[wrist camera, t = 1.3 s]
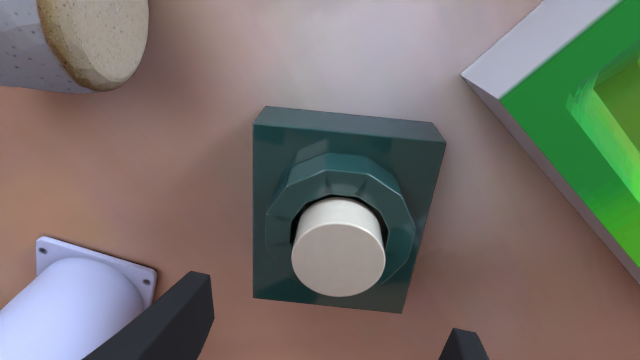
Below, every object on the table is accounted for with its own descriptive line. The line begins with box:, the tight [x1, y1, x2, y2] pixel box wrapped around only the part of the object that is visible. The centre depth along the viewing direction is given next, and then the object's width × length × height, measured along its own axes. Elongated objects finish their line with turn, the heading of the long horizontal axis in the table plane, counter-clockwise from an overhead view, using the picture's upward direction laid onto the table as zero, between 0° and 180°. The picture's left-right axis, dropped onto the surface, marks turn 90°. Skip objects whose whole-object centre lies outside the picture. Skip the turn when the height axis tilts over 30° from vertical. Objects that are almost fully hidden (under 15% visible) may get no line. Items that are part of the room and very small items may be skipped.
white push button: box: [291, 197, 385, 297], centre depth 16 cm, size 4×4×2 cm
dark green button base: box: [253, 106, 447, 314], centre depth 19 cm, size 11×9×5 cm
